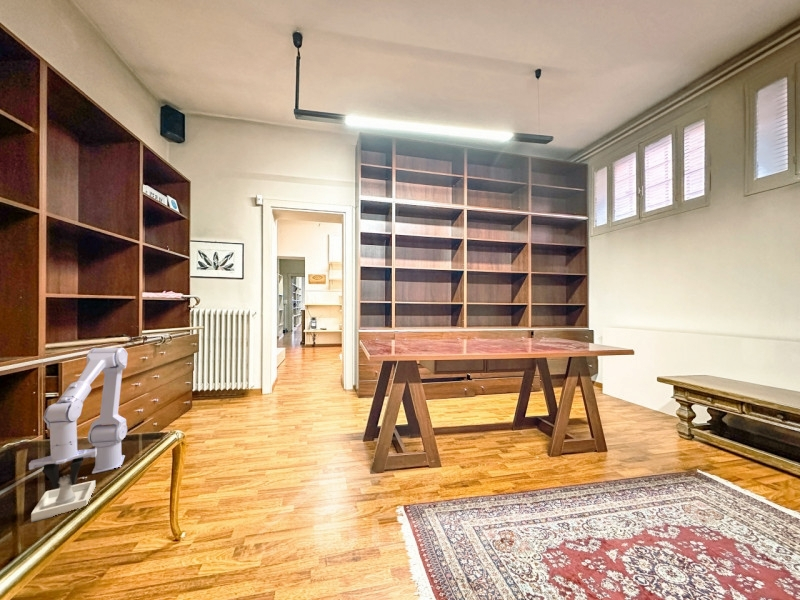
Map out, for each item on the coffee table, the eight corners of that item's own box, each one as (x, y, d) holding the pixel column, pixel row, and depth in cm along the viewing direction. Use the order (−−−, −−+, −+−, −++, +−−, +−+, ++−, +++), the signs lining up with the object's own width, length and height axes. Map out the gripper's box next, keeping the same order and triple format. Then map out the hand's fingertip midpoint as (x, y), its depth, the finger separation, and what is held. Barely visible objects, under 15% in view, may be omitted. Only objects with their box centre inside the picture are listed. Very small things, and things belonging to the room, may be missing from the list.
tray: (46, 499, 103) (45, 491, 103) (95, 487, 110) (95, 480, 109) (31, 522, 94) (31, 513, 93) (86, 507, 100) (86, 499, 100)
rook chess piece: (75, 495, 105) (75, 471, 104) (76, 502, 101) (75, 477, 101) (55, 501, 101) (54, 476, 101) (55, 509, 98) (54, 483, 98)
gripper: (23, 453, 93) (25, 499, 94) (92, 441, 101) (93, 484, 102) (33, 443, 99) (35, 486, 100) (98, 432, 107) (99, 472, 108)
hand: (65, 484), depth 101 cm, fingers closed on rook chess piece, 3 cm apart
